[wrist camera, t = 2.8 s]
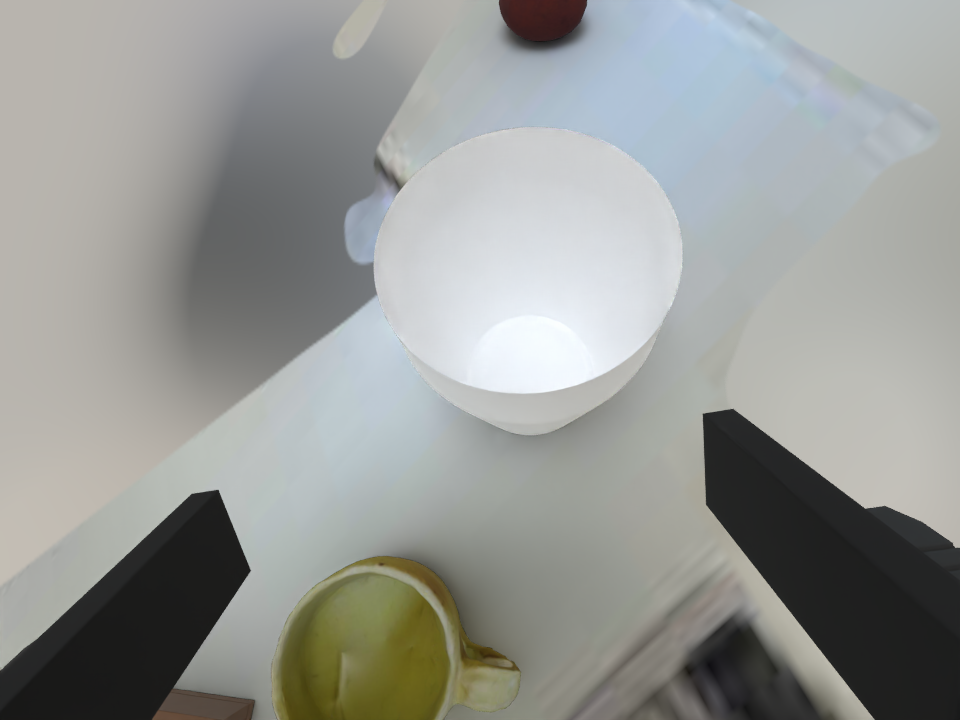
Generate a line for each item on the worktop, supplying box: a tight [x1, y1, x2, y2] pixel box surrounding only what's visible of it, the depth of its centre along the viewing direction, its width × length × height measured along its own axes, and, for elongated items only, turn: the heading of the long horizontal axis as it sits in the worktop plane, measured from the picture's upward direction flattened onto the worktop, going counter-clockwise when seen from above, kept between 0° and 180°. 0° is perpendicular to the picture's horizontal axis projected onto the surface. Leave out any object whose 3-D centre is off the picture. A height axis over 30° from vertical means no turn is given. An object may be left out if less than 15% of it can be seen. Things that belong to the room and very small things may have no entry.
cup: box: [374, 127, 683, 435], centre depth 26 cm, size 13×13×17 cm
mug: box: [271, 556, 521, 720], centre depth 26 cm, size 12×10×10 cm
